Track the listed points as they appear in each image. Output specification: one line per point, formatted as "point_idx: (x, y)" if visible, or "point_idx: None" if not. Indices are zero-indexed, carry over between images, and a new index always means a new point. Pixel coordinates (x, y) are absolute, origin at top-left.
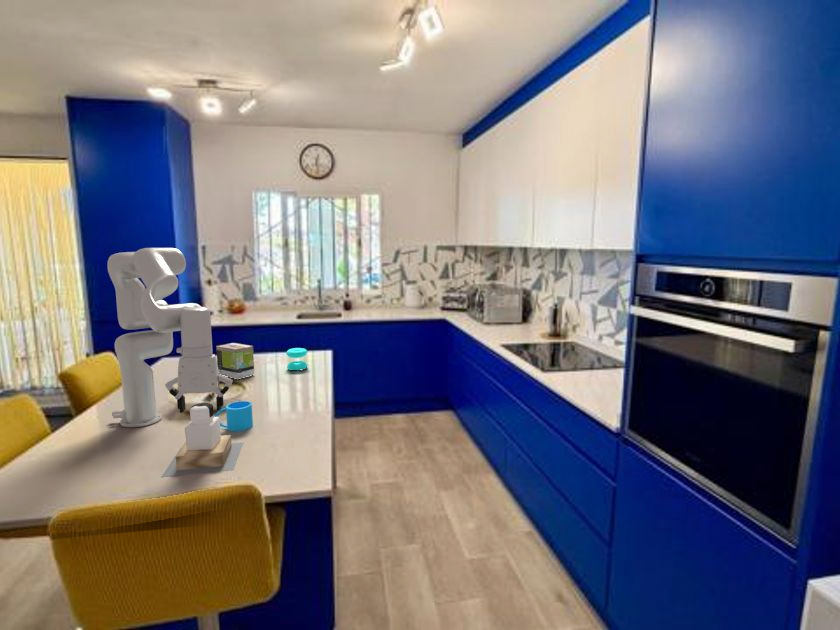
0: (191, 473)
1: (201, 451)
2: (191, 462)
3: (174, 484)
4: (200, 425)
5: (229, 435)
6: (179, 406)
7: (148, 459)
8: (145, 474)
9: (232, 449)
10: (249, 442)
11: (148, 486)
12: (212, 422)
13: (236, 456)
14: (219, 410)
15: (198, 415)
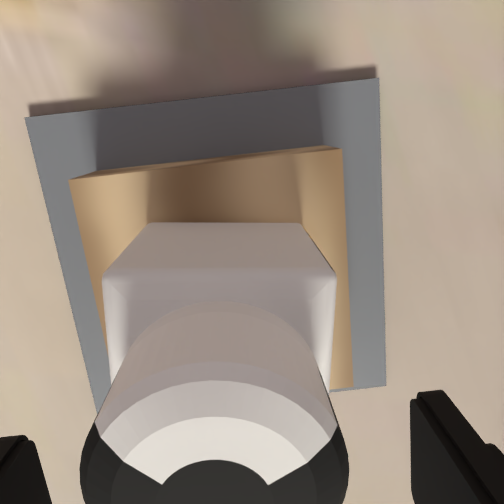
0: (235, 100)
1: (209, 206)
2: (253, 155)
3: (289, 10)
4: (201, 284)
5: None
6: (481, 440)
7: (500, 298)
8: (468, 143)
9: None
10: (80, 429)
11: (413, 5)
12: (119, 344)
13: (72, 270)
14: (5, 438)
15: (210, 334)
